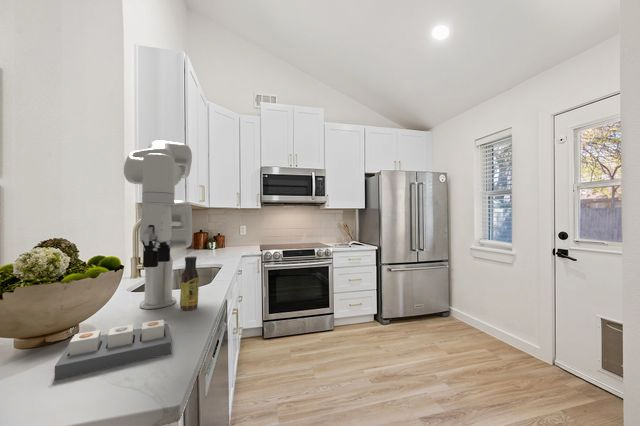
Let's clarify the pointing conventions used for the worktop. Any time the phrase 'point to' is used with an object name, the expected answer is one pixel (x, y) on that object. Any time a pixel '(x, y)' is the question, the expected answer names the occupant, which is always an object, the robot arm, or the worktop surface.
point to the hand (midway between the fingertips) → (157, 264)
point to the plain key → (120, 336)
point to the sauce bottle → (189, 285)
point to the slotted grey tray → (112, 355)
